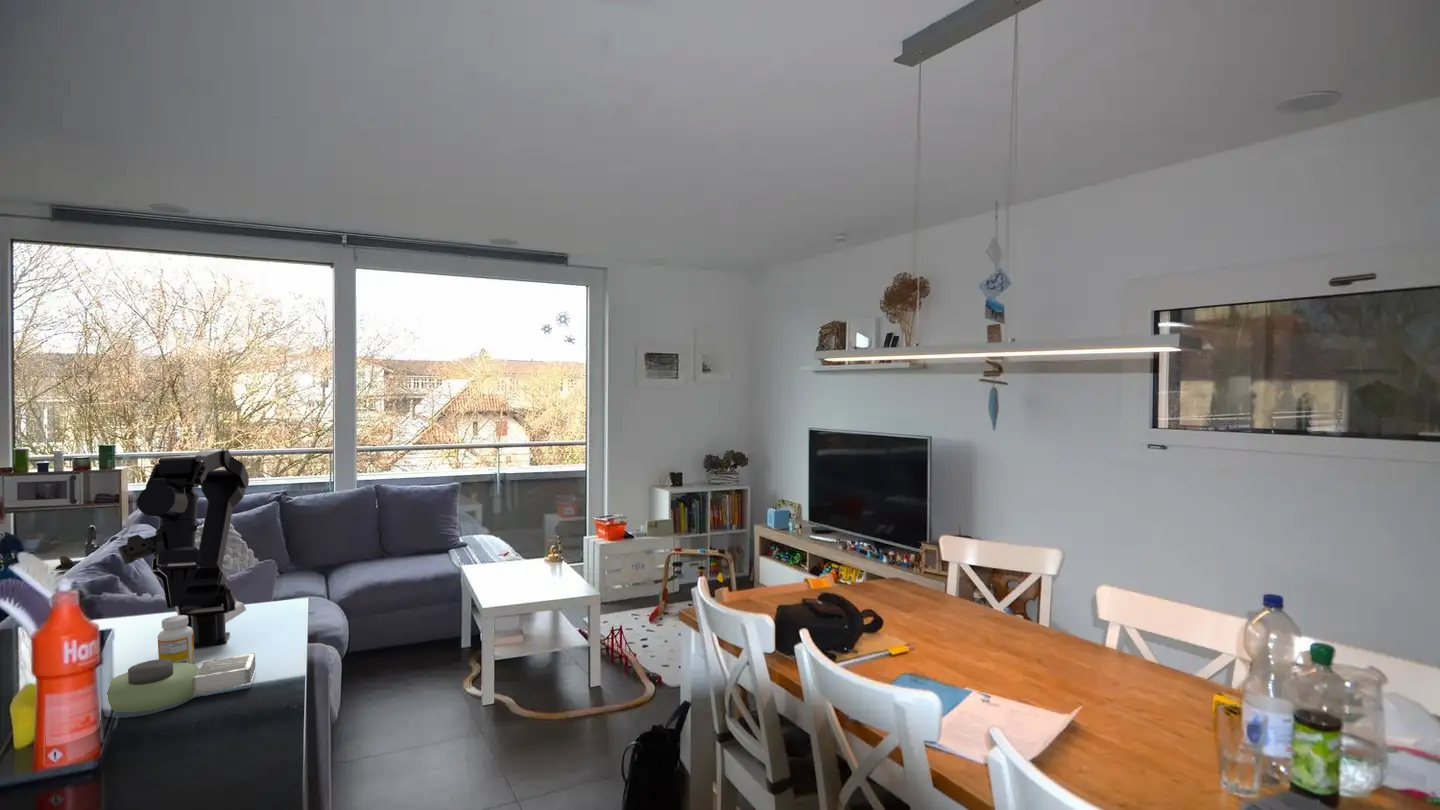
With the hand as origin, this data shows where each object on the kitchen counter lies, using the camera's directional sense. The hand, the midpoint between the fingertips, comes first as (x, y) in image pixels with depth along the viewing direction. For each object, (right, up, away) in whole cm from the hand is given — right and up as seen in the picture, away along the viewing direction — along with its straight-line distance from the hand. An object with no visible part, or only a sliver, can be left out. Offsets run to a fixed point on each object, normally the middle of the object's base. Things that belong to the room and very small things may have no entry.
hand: (172, 607), depth 138 cm
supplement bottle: (-1, -12, +2) cm, 13 cm away
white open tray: (+13, -12, -5) cm, 19 cm away
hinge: (-14, -12, +31) cm, 36 cm away
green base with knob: (+5, -13, -11) cm, 18 cm away
